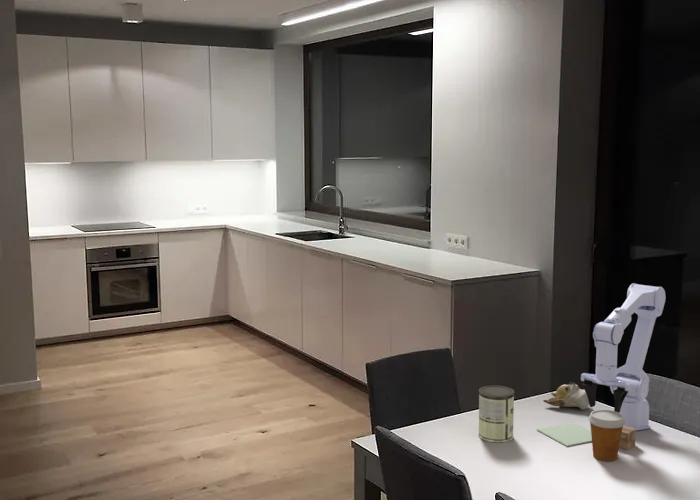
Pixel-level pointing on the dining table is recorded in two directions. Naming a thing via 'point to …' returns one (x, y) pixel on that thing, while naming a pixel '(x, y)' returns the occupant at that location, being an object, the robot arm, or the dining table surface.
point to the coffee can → (496, 413)
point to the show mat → (568, 434)
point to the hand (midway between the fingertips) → (604, 409)
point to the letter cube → (627, 438)
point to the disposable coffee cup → (606, 433)
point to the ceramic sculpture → (569, 397)
